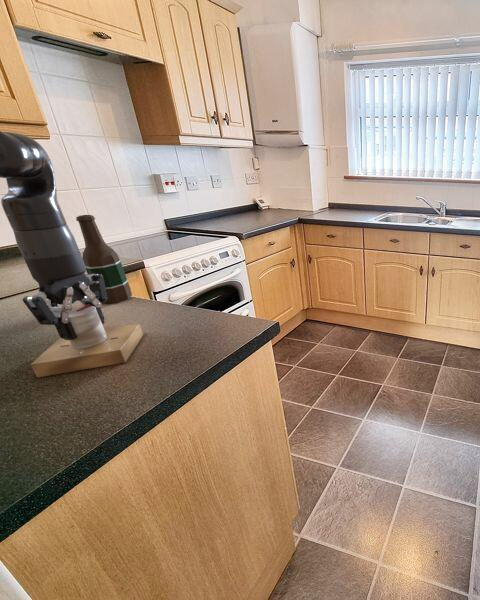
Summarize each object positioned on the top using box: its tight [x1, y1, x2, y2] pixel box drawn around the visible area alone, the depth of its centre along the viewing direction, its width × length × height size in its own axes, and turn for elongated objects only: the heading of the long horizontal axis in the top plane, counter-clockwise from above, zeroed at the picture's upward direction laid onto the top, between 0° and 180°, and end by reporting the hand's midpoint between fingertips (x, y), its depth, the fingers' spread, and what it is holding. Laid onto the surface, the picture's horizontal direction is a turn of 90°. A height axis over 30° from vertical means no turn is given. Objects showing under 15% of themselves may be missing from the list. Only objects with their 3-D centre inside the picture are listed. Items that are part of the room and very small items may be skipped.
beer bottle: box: [75, 214, 133, 305], centre depth 93 cm, size 8×8×24 cm
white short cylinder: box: [59, 304, 107, 349], centre depth 68 cm, size 6×6×7 cm
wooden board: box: [30, 323, 144, 378], centre depth 70 cm, size 14×12×3 cm
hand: (85, 331), depth 69 cm, fingers closed on white short cylinder, 5 cm apart
